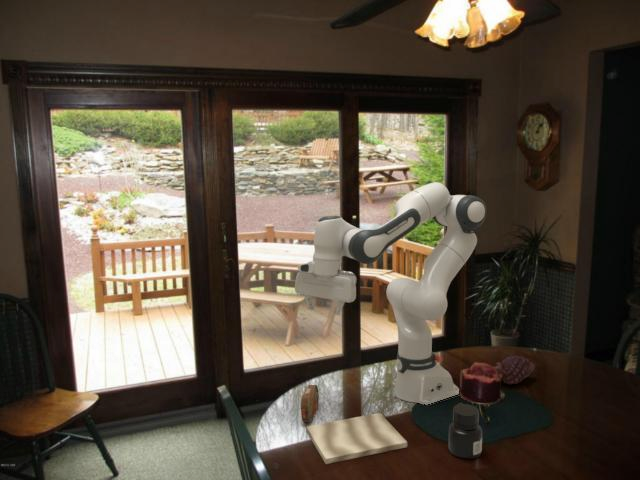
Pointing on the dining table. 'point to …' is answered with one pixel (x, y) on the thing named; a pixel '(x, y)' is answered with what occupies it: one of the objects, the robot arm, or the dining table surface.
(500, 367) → the pine cone
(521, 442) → the dining table surface
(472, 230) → the robot arm
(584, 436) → the dining table surface
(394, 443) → the birch board
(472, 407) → the ink bottle
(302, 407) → the tin
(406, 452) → the dining table surface
